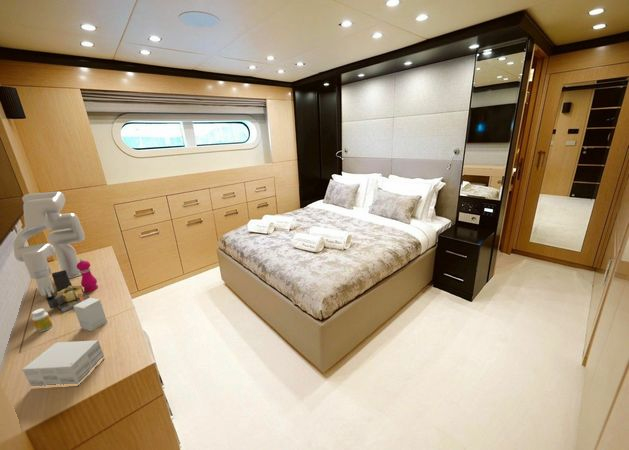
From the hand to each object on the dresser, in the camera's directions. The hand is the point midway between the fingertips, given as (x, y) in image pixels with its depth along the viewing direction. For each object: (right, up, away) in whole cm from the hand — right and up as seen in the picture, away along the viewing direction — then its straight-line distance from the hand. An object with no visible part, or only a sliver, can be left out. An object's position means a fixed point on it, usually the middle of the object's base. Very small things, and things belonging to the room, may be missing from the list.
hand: (52, 303), depth 139 cm
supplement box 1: (+47, -15, -40) cm, 63 cm away
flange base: (+5, -1, +6) cm, 8 cm away
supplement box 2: (+34, -7, -14) cm, 37 cm away
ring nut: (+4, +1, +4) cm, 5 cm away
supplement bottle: (+11, -8, -15) cm, 20 cm away
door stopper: (-12, +2, +19) cm, 23 cm away
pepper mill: (+5, +3, +19) cm, 19 cm away
